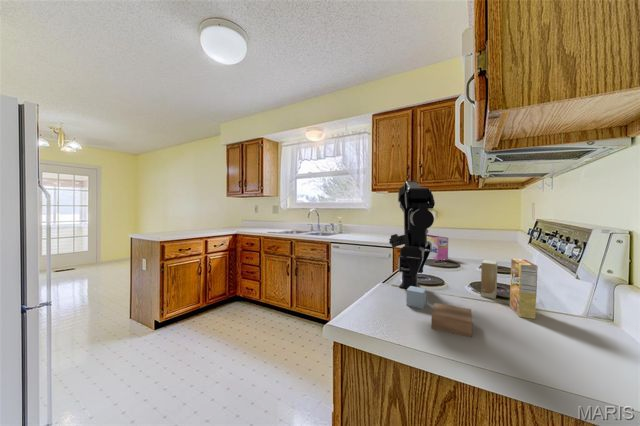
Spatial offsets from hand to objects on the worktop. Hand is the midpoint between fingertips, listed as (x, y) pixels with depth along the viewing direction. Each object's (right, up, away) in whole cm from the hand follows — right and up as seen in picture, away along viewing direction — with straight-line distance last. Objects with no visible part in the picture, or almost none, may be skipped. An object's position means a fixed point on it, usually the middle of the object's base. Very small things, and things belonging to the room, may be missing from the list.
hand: (416, 274), depth 81 cm
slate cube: (0, -10, 0) cm, 10 cm away
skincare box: (+29, -10, +9) cm, 32 cm away
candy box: (+29, -10, -6) cm, 32 cm away
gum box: (+39, -8, +79) cm, 88 cm away
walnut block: (+4, -10, -14) cm, 18 cm away
